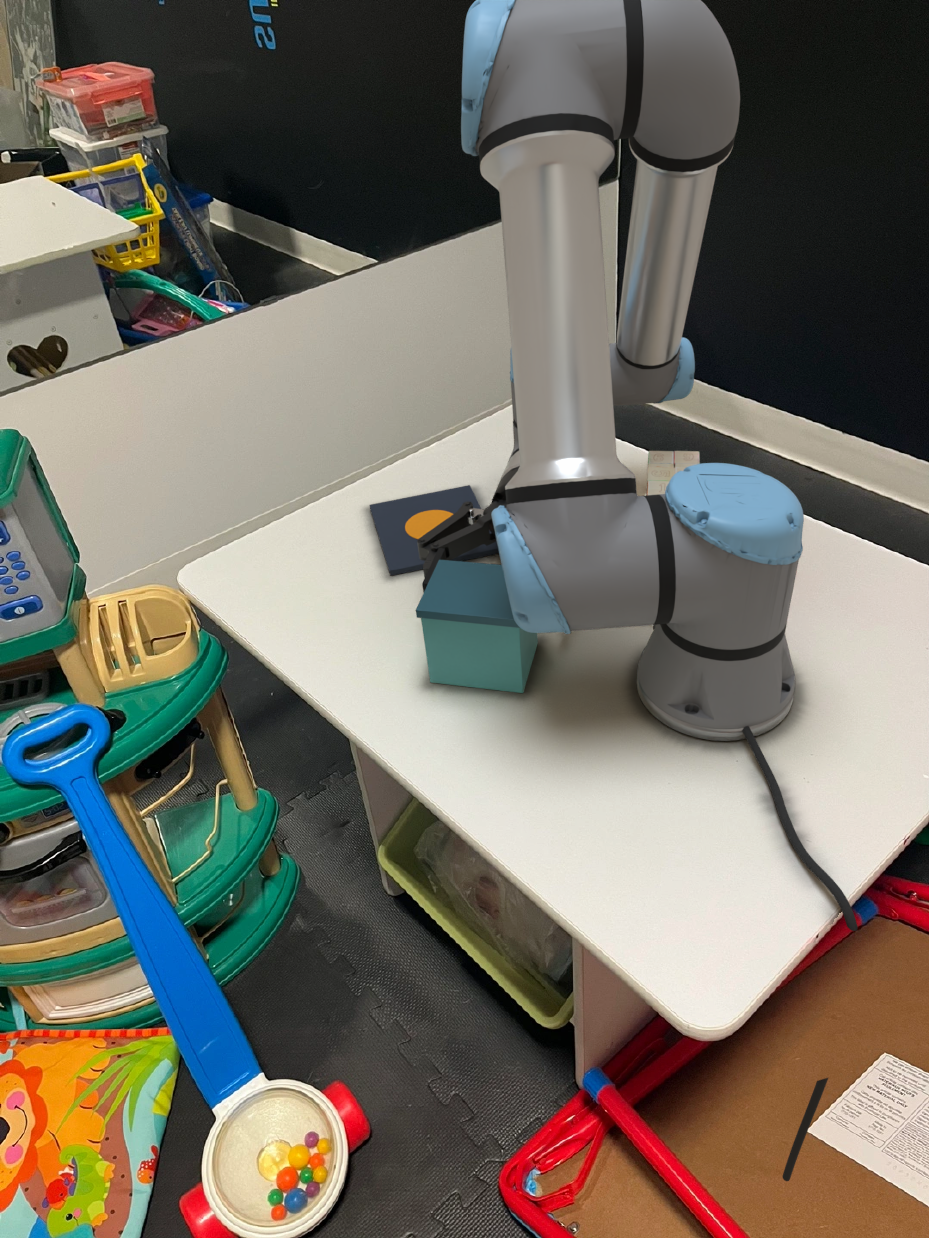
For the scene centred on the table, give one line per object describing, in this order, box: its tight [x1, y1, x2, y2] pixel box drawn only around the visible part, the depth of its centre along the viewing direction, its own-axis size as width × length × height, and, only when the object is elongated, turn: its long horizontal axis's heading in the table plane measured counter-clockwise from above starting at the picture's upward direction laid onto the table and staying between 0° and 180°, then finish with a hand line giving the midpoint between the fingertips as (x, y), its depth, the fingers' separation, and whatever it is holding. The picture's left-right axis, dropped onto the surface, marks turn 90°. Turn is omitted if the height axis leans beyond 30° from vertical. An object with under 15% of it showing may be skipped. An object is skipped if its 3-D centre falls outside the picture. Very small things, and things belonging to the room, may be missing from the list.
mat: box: [369, 484, 499, 577], centre depth 118 cm, size 16×14×1 cm
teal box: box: [415, 560, 539, 694], centre depth 95 cm, size 9×11×10 cm
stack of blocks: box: [645, 450, 701, 496], centre depth 105 cm, size 21×6×12 cm, turn 169°
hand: (487, 599), depth 97 cm, fingers open, 13 cm apart
